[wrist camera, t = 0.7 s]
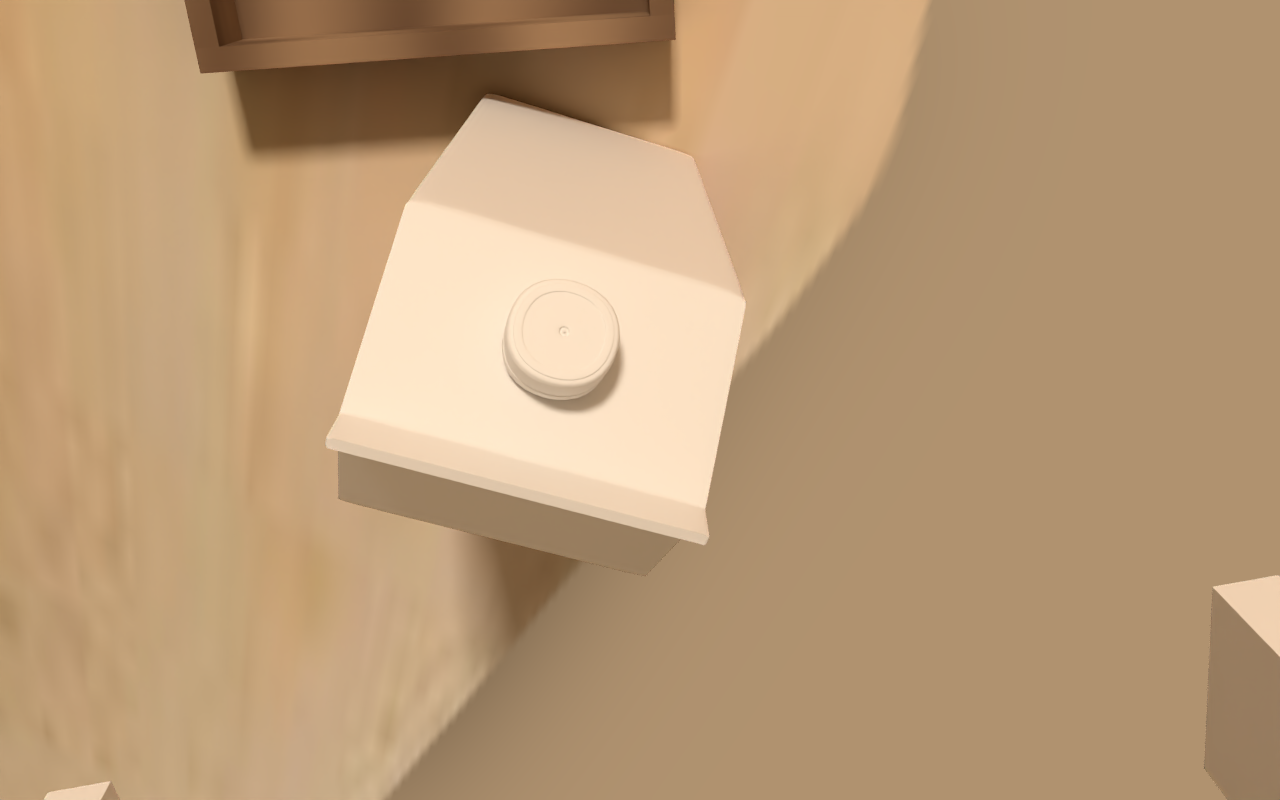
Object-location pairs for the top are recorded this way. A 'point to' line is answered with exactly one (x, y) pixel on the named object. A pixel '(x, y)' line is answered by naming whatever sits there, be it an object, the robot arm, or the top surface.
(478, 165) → the milk carton
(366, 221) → the top surface
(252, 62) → the tray
